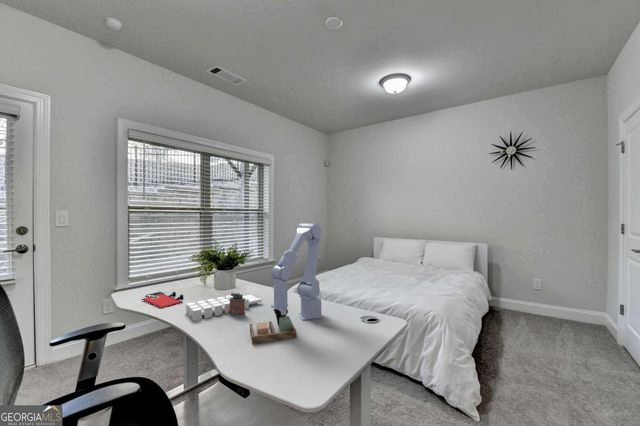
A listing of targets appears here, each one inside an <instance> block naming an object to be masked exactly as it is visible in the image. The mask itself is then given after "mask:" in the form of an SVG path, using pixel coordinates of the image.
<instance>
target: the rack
mask: <svg viewBox="0 0 640 426" xmlns="http://www.w3.org/2000/svg"><path fill="white" fill-rule="evenodd" d="M268 328H269V333H266V334H264V335H263V334H259V335H257V334H256V335H255V330H254V326H253V323H249V334H250V339H251V344H252V345H254V344H262V343H268V342H276V341H283V340H290V339H291V340H292V339H296V338H297V336H298V335H297V330H296V328H295V325H294V324H293V323H292V324H291V331H283V332H280V331H279V332H277V331H276V330H275V326H274V324H273V322H272V321H268Z"/></svg>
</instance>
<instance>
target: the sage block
mask: <svg viewBox="0 0 640 426" xmlns="http://www.w3.org/2000/svg"><path fill="white" fill-rule="evenodd" d="M291 324H293V321H292V319H291V317H290V316H289V315H286V316H285V317H279V327H278V330H279V332H283V331H291Z"/></svg>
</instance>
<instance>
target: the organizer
mask: <svg viewBox="0 0 640 426" xmlns="http://www.w3.org/2000/svg"><path fill="white" fill-rule="evenodd" d="M231 297H233V296H231V294H229V295H224V296H218V297H215V298H209V299H206V300H203V299H202V300H198V301H196V303H195V302H194V301H193V302H189V303H188V302H187V303H185V312H186V314H187V315H188V316H189V318H190V319H191V320H193V322H194V321H199V320H202V319H203V318H204V319H208V318H213V316H215V317H216V316H220V315H223V313H224V314H229V312H230V300H229V298H231ZM242 298H245V310H246V309H249V305H253V304H257V303H261V302H263V298H261V297H259V298H258V297H256V296H255V295H254V293H253V294H248V295H243V297H242Z"/></svg>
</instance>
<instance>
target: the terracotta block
mask: <svg viewBox="0 0 640 426" xmlns="http://www.w3.org/2000/svg"><path fill="white" fill-rule="evenodd" d="M266 333H269V334H270V329H269V324H268V322H267V321H265V322H257V323H256V335H259V334H263V335H264V334H266Z"/></svg>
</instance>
